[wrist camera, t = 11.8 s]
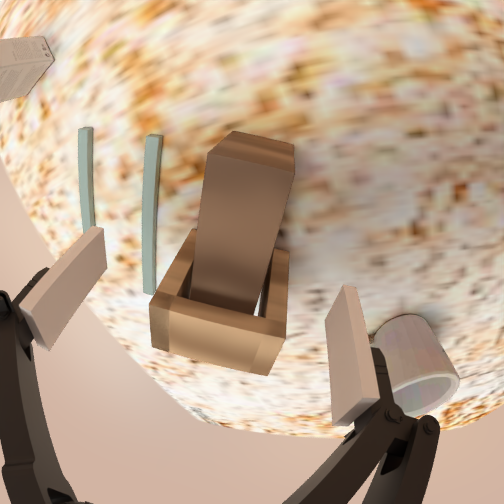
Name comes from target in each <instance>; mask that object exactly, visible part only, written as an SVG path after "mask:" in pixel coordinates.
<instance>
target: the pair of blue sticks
mask: <svg viewBox="0 0 504 504" xmlns="http://www.w3.org/2000/svg"><path fill="white" fill-rule="evenodd" d="M162 139H163V136H161V135H154V134H150V135H148V136H146V144H145V157H144V173H143V194H142V270H143V292H144V293H146V294H149V295H153V294H154V293H155V291H156V284H155V256H156V218H157V199H158V183H159V170H160V159H161V149H162ZM92 141H93V128H86V127H83V128H81V129H78V169H79V190H80V204H81V215H82V225H83V234H84V233H85V232H86V231H87V230H88V229H89V228H90V227H91V226H95V217H94V202H93V177H92Z"/></svg>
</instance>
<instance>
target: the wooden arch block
mask: <svg viewBox="0 0 504 504" xmlns="http://www.w3.org/2000/svg"><path fill="white" fill-rule="evenodd" d="M196 235H197V230H196V229H192V230H191V232H190V233H189V235H188V237H187V238H186V240H185V242H184V243H183V245H182V247H181V249H180V250H179V252H178V254H177V255H176V257H175V259H174V260H173V262H172V264H171V266H170V267H169V269H168V271H167V273H166V274H165V276H164V278H163V280H162V281H161V283H160V285H159V287H158V289H157V290H156V292H155V294H154V296H153V298H152V299H151V301H150V303H149V317H150V331H151V343H152V347H154V348H157V349H160V350H163V351H167V352H170V353H173V354H177V355H180V356H184V357H187V358H191V359H195V360H199V361H202V362H206V363H210V364H214V365H218V366H222V367H226V368H231V369H235V370H240V371H244V372H249V373H254V374H259V375H264V376H268V374H269V372H270V370H271V368H272V366H273V364H274V362H275V360H276V358H277V356H278V354H279V352H280V350H281V348H282V345H283V343H284V341H285V339H286V322H287V300H288V274H289V252H287V251H283V250H279V249H275V248H274V250H273V253H272V256H271V260H270V263H269V266H268V270H267V273H266V276H265V280H264V283H263V286H262V292H261V298H260V305H259V312H258V316H254V315H249V314H245V313H241V312H237V311H232V310H228V309H224V308H220V307H216V306H212V305H208V304H205V303H201V302H197V301H193V300H190V294H191V283H192V272H193V262H194V253H195V244H196Z"/></svg>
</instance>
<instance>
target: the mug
mask: <svg viewBox="0 0 504 504" xmlns="http://www.w3.org/2000/svg"><path fill="white" fill-rule="evenodd" d="M370 347H375V348H380V350H381V351H382V353H383V355H384V356H385V360H386V364H387V368H388V373H389V374H388V375H389V378H390V383H391V387H392V392H393V398H394V402H395V404H397V405H399V406H400V407H401V408H402V410H403V412H404V414H405V415H407V416H410V417H413V418H414V417H417V416H420V415H423V414H425V413H428V412H430V411H432V410H434V409H436V408H437V407H439V406H440V405H442V404H443V403H445V402H446V401H448V400H449V399H450V398H451V397H452V396H453V395H454V394H455V392H456V391H457V389H458V388H459V384H460V377H459V375H458V374H457V372H456V370H455V368H454V366H453V365H452V363H451V361H450V359H449V358H448V356H447V354H446V352H445V351H444V349H443V347H442V346H441V344H440V342H439V341H438V339H437V337H436V336H435V334H434V333H433V331H432V329H431V328H430V326H429V325H428V323H427V322H426V321H425V319H424V318H422V317H420V316H418V315H410V314H409V315H403V316H399V317H396V318H394V319H391V320H390V321H388V322H387V323H385V324H384V325H383V326H382V327H381V328H380V329H379V330H378V331H377V333H376V334H375V336H374V340H373V344H370Z"/></svg>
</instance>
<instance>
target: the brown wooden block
mask: <svg viewBox="0 0 504 504" xmlns="http://www.w3.org/2000/svg"><path fill="white" fill-rule="evenodd" d="M294 175H295V164H294V147H293V144H289V143H285V142H281V141H277V140H273V139H268V138H264V137H260V136H255V135H251V134H246V133H241V132H236V131H232V132H231V133H230V134H229V135H228V136H226V137H225V138H224V139H223V140H222V141H221V142H220V143H219V144H217V145H216V146H215V147H214V148H213V149H212V150H211V151H210V152H208V155H207V161H206V168H205V175H204V181H203V188H202V196H201V203H200V211H199V218H198V227H197V235H196V244H195V253H194V262H193V272H192V283H191V294H190V300H193V301H197V302H201V303H205V304H208V305H212V306H216V307H220V308H224V309H228V310H232V311H237V312H241V313H245V314H249V315H254V311H255V308H256V305H257V302H258V298H259V295H260V292H261V288H262V285H263V282H264V278H265V275H266V272H267V268H268V265H269V262H270V258H271V255H272V251H273V248H274V245H275V241H276V238H277V234H278V231H279V227H280V224H281V220H282V217H283V214H284V210H285V207H286V203H287V200H288V196H289V192H290V189H291V185H292V182H293V178H294Z"/></svg>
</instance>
